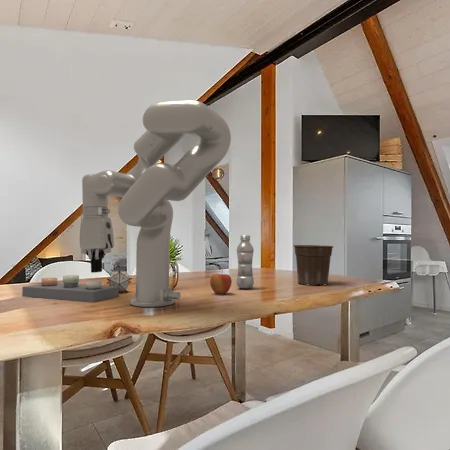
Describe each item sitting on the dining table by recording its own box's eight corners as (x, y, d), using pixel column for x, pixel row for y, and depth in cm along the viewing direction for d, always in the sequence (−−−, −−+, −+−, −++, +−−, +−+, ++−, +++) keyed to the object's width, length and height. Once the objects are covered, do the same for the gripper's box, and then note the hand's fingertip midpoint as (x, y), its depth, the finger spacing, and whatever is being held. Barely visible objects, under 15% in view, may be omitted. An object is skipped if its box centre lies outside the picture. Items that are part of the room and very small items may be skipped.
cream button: (104, 295, 117) (104, 280, 117) (94, 297, 113) (94, 282, 113) (92, 294, 119) (92, 279, 119) (81, 296, 114) (82, 281, 114)
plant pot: (336, 282, 158) (336, 245, 158) (330, 287, 143) (330, 246, 144) (298, 280, 164) (298, 244, 165) (289, 285, 150) (289, 245, 150)
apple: (207, 295, 123) (207, 271, 123) (213, 292, 130) (213, 269, 130) (228, 296, 121) (228, 271, 121) (233, 293, 128) (233, 269, 128)
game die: (121, 303, 126) (122, 282, 121) (100, 294, 128) (100, 272, 122) (135, 288, 134) (137, 267, 128) (115, 279, 135) (116, 258, 130)
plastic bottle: (256, 288, 139) (257, 235, 140) (248, 290, 133) (248, 235, 134) (242, 287, 143) (242, 235, 143) (233, 289, 137) (233, 235, 138)
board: (118, 296, 120) (118, 286, 120) (93, 302, 108) (93, 291, 108) (51, 291, 129) (52, 282, 129) (22, 296, 118) (22, 286, 118)
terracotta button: (60, 291, 123) (60, 278, 124) (49, 293, 119) (49, 279, 119) (49, 290, 125) (49, 277, 125) (37, 292, 121) (38, 278, 121)
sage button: (82, 289, 120) (82, 275, 120) (71, 291, 116) (71, 277, 116) (70, 288, 122) (70, 274, 122) (59, 290, 117) (59, 276, 118)
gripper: (122, 213, 117) (123, 271, 116) (84, 215, 123) (85, 271, 122) (107, 211, 110) (108, 273, 109) (67, 214, 115) (68, 273, 115)
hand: (96, 272), depth 116 cm, fingers closed
